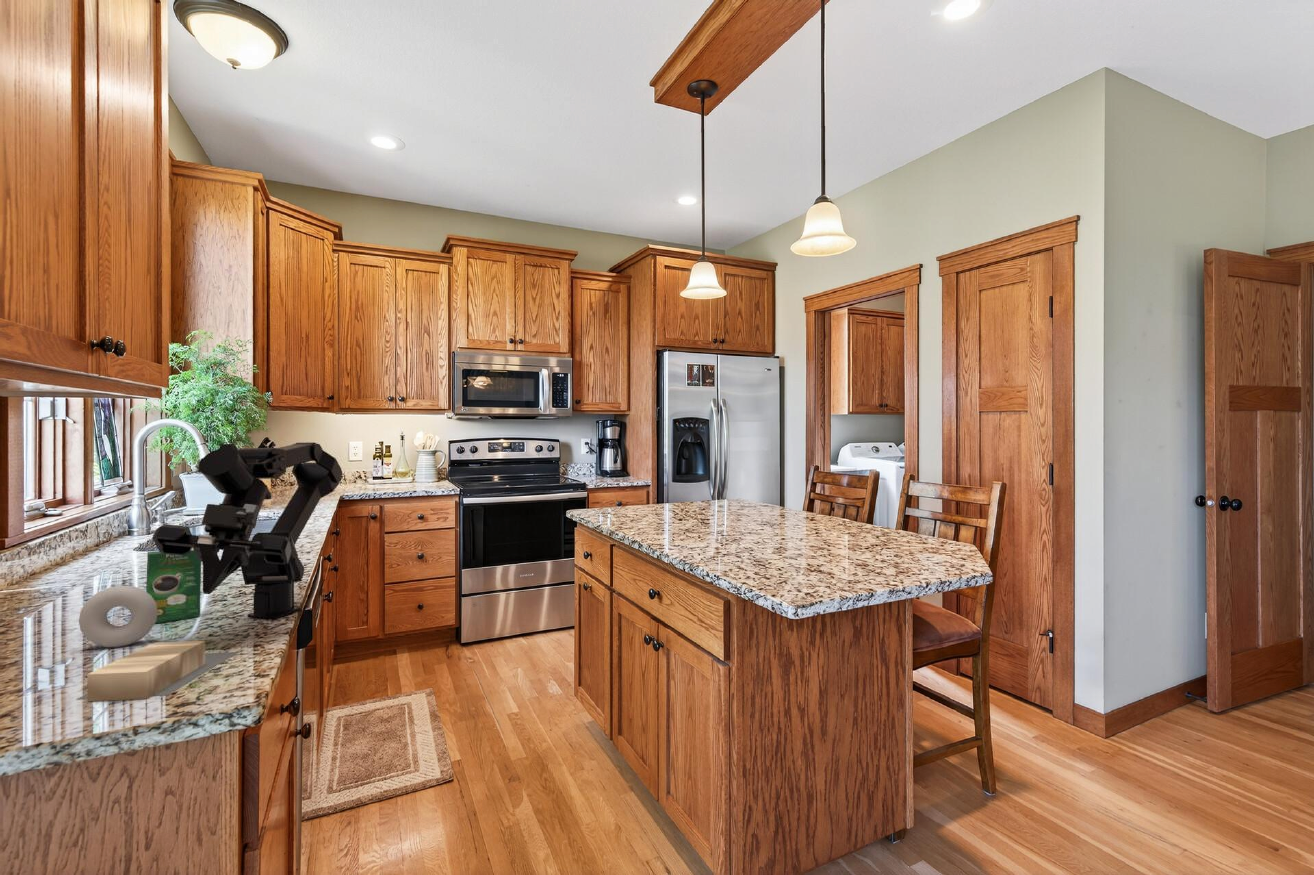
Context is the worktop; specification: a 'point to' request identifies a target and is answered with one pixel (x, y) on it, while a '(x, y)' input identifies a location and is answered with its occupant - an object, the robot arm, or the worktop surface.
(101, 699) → the birch block
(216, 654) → the rubber mat
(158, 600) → the coffee box
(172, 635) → the worktop surface
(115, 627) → the donut
